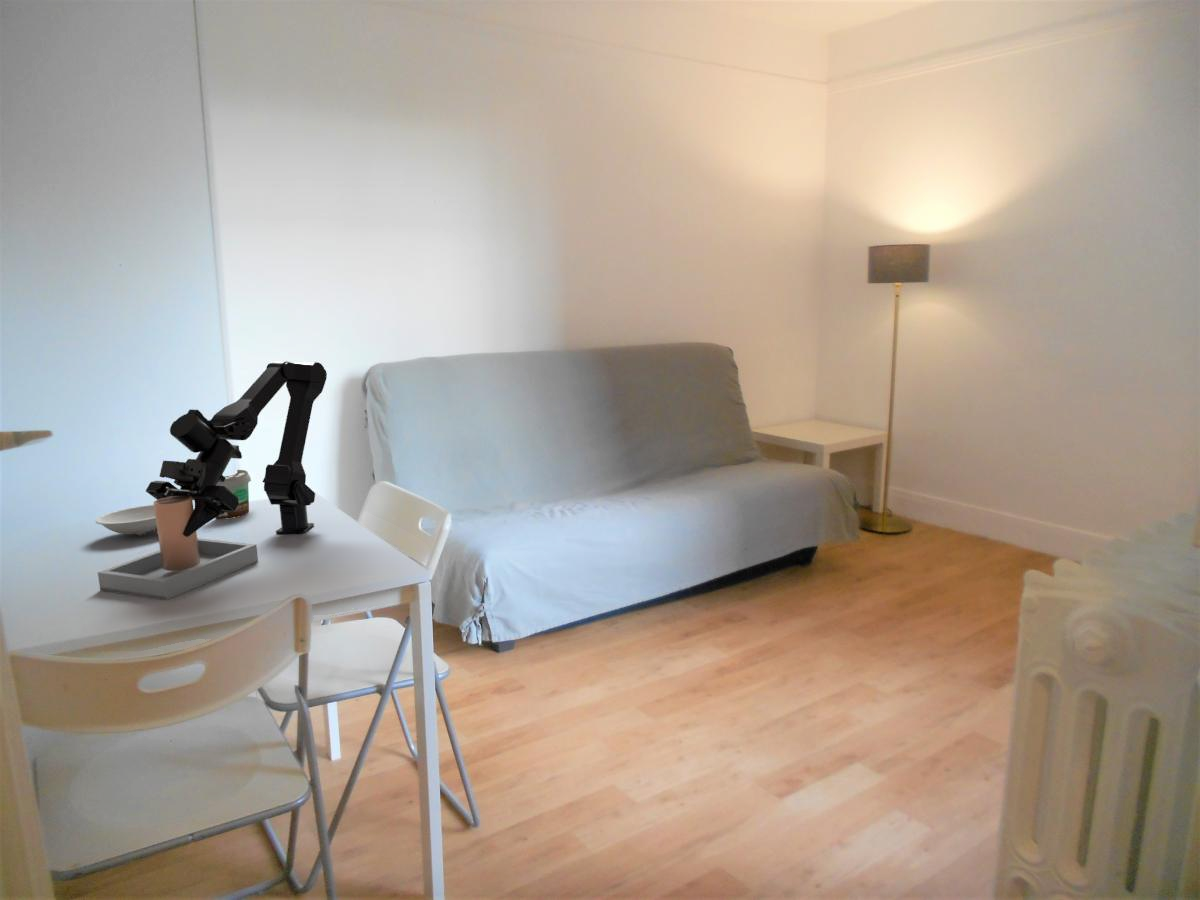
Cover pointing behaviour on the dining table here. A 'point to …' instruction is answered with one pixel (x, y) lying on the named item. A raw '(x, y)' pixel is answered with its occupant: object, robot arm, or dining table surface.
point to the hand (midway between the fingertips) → (171, 534)
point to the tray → (163, 584)
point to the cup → (176, 533)
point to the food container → (237, 492)
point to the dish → (130, 520)
